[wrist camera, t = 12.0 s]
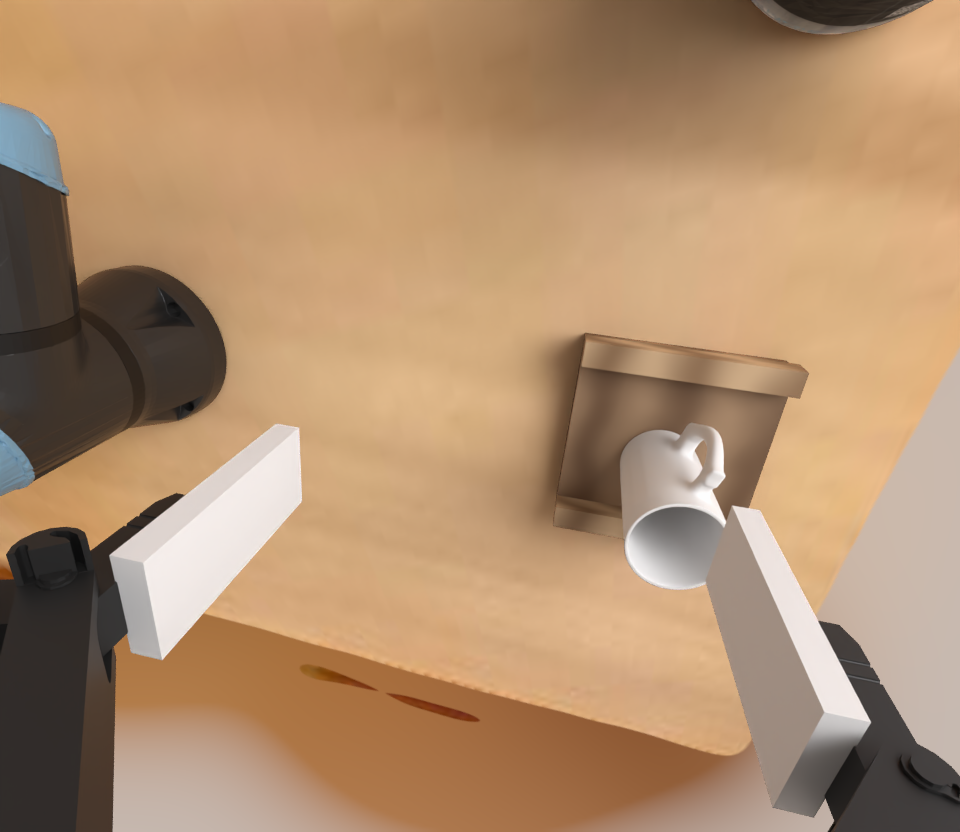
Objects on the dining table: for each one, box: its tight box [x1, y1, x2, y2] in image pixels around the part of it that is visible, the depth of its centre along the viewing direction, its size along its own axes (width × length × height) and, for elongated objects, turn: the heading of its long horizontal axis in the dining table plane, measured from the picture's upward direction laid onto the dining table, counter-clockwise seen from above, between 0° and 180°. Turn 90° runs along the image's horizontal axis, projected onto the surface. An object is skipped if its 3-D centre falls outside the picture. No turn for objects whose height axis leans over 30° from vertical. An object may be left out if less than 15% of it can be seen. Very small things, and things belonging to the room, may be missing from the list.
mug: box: [620, 423, 726, 590], centre depth 40 cm, size 10×7×12 cm, turn 159°
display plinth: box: [553, 333, 809, 539], centre depth 46 cm, size 16×17×4 cm
